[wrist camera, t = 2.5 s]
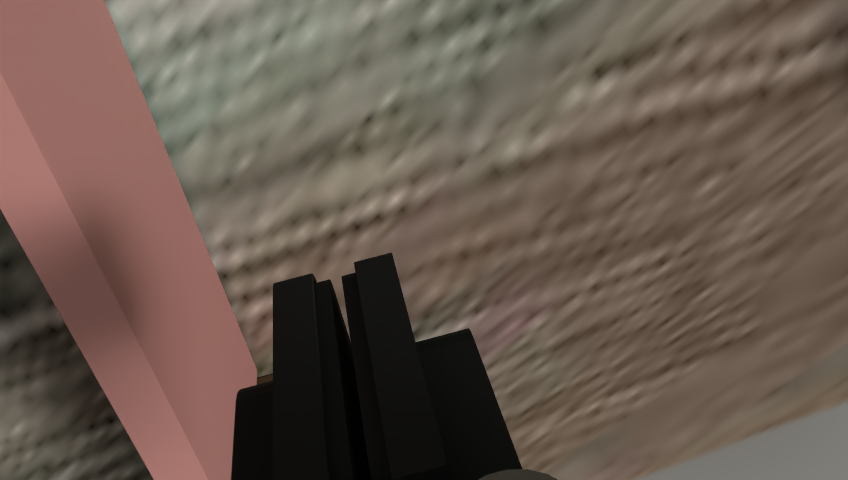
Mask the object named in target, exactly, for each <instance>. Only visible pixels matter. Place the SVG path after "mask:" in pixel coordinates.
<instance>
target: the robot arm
mask: <svg viewBox="0 0 848 480" xmlns="http://www.w3.org/2000/svg"><path fill="white" fill-rule="evenodd" d="M354 265H355V271H356V273H352V274H348V275H345V276H342V283H343V290H344V297H345V304H346V311H347V318H348V325H349V332H350V339H351V342H350V339H349V336H348V332H347V329H346V326H345V323H344V320H343V317H342V313H341V310H340V307H339V304H338V301H337V298H336V294H335V291H334V288H333V285H332V283H331V280H330V279H329V280H326V281H322V282H318V283H317V282H316V279H315V277H314V275H313V274H312V273H311V274H308V275H304V276H300V277H296V278H292V279H288V280H285V281H281V282H277V283H274V284H273V381H269V382H265V383H262V384H258V385H254V386H250V387H247V388H243V389H240V390H239V391H238V393H237V397H236V405H235V421H234V437H233V453H232V470H231V480H557V479H556V478H554V477H552V476H550V475H548V474H545V473H541V472H537V471H533V470H529V469H522V467H521V464H520V461H519V459H518V456H517V453H516V451H515V448H514V445H513V443H512V440H511V437H510V435H509V432H508V429H507V427H506V424H505V421H504V419H503V416H502V413H501V410H500V408H499V405H498V402H497V400H496V397H495V394H494V392H493V389H492V386H491V384H490V381H489V378H488V376H487V373H486V370H485V368H484V365H483V362H482V360H481V357H480V354H479V351H478V349H477V346H476V343H475V341H474V338H473V336H472V333H471V331H470V329H469V328H468V329H464V330H461V331H457V332H453V333H449V334H446V335H442V336H438V337H434V338H431V339H427V340H423V341H419V342H416V343H415V339H414V335H413V332H412V328H411V324H410V320H409V316H408V313H407V309H406V305H405V301H404V297H403V293H402V290H401V286H400V282H399V278H398V274H397V271H396V267H395V263H394V259H393V255H392V253H388V254H384V255H380V256H377V257H373V258H369V259H365V260H361V261H357V262H354Z"/></svg>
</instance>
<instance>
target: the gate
mask: <svg viewBox="0 0 848 480" xmlns="http://www.w3.org/2000/svg"><path fill="white" fill-rule="evenodd" d="M0 209H1V211H2V213H3V214H4V216H5V218H6V220H7V222H8V223H9V225H10V227H11V229H12V230H13V232H14V234H15V236H16V237H17V239H18V241H19V243H20V244H21V246H22V248H23V250H24V252H25V253H26V255H27V257H28V259H29V260H30V262H31V264H32V266H33V267H34V269H35V271H36V273H37V274H38V276H39V278H40V280H41V282H42V283H43V285H44V287H45V289H46V290H47V292H48V294H49V296H50V297H51V299H52V301H53V303H54V304H55V306H56V308H57V310H58V311H59V313H60V315H61V317H62V319H63V320H64V322H65V324H66V326H67V327H68V329H69V331H70V333H71V334H72V336H73V338H74V340H75V341H76V343H77V345H78V347H79V349H80V350H81V352H82V354H83V356H84V357H85V359H86V361H87V363H88V364H89V366H90V368H91V370H92V371H93V373H94V375H95V377H96V379H97V380H98V382H99V384H100V386H101V387H102V389H103V391H104V393H105V394H106V396H107V398H108V400H109V401H110V403H111V405H112V407H113V409H114V410H115V412H116V414H117V416H118V417H119V419H120V421H121V423H122V424H123V426H124V428H125V430H126V431H127V433H128V435H129V437H130V439H131V440H132V442H133V444H134V446H135V447H136V449H137V451H138V453H139V454H140V456H141V458H142V460H143V461H144V463H145V465H146V467H147V468H148V470H149V472H150V474H151V476H152V477H153V479H154V480H231V470H232V453H233V437H234V421H235V405H236V397H237V393H238V391H239V390H240V389H243V388H247V387H250V386H254V385H257V369H256V366H255V364H254V362H253V359H252V357H251V354H250V352H249V349H248V347H247V345H246V342H245V340H244V337H243V335H242V333H241V330H240V328H239V325H238V323H237V320H236V318H235V316H234V313H233V311H232V308H231V306H230V304H229V301H228V299H227V296H226V294H225V291H224V289H223V287H222V284H221V282H220V279H219V277H218V274H217V272H216V270H215V267H214V265H213V262H212V260H211V258H210V255H209V253H208V250H207V248H206V245H205V243H204V241H203V238H202V236H201V233H200V231H199V229H198V226H197V224H196V221H195V219H194V216H193V214H192V212H191V209H190V207H189V204H188V202H187V199H186V197H185V195H184V192H183V190H182V187H181V185H180V183H179V180H178V178H177V175H176V173H175V170H174V168H173V166H172V163H171V161H170V158H169V156H168V154H167V151H166V149H165V146H164V144H163V141H162V139H161V137H160V134H159V132H158V129H157V127H156V124H155V122H154V120H153V117H152V115H151V112H150V110H149V108H148V105H147V103H146V100H145V98H144V95H143V93H142V91H141V88H140V86H139V83H138V81H137V79H136V76H135V74H134V71H133V69H132V66H131V64H130V62H129V59H128V57H127V54H126V52H125V49H124V47H123V45H122V42H121V40H120V37H119V35H118V33H117V30H116V28H115V25H114V23H113V20H112V18H111V16H110V13H109V11H108V8H107V6H106V4H105V1H104V0H0Z"/></svg>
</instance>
